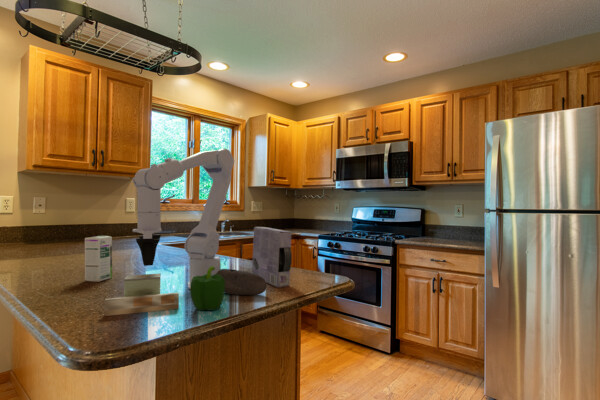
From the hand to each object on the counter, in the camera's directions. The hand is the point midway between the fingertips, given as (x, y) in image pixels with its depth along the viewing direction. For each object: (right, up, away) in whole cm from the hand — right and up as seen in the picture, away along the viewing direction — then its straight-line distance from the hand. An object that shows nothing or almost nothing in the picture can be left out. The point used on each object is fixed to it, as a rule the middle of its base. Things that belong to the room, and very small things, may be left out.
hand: (149, 262), depth 91 cm
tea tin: (+1, -8, -5) cm, 10 cm away
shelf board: (+1, -10, -6) cm, 11 cm away
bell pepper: (+18, -10, -8) cm, 22 cm away
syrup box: (-27, -10, +22) cm, 37 cm away
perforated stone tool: (+24, -10, +5) cm, 27 cm away
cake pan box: (+31, -10, +21) cm, 39 cm away
